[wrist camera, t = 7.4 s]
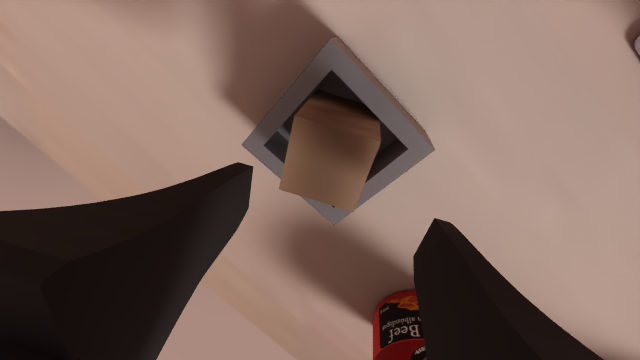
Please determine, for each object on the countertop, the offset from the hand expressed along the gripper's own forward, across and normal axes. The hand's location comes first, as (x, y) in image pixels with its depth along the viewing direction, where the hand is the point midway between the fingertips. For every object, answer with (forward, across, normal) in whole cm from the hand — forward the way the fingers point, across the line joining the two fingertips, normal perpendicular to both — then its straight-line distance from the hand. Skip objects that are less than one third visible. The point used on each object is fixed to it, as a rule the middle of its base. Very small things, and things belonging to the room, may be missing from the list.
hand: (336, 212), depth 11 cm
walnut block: (+9, +1, 0) cm, 9 cm away
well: (+9, +1, 0) cm, 9 cm away
